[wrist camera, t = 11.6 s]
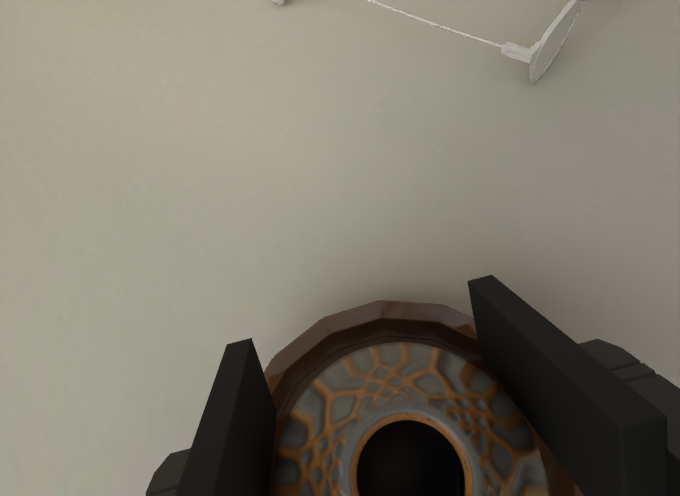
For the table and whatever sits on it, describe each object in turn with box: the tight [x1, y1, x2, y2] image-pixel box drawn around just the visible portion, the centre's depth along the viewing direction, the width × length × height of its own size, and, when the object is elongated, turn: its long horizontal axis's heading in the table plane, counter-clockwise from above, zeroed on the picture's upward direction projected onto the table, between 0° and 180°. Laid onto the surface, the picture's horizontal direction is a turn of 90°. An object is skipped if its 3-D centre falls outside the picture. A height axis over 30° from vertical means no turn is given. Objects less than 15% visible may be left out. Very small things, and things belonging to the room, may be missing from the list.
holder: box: [264, 300, 584, 496], centre depth 14 cm, size 11×11×2 cm
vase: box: [273, 342, 549, 496], centre depth 11 cm, size 7×7×9 cm
